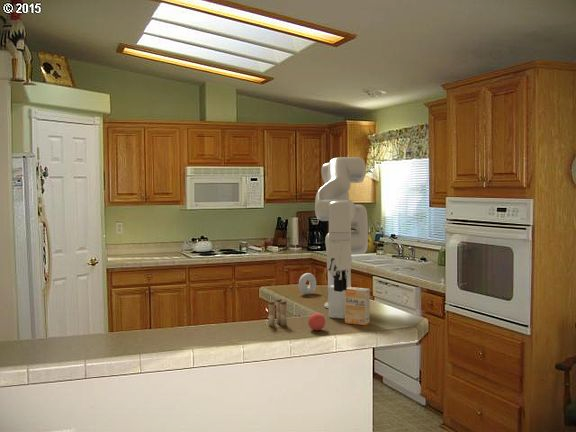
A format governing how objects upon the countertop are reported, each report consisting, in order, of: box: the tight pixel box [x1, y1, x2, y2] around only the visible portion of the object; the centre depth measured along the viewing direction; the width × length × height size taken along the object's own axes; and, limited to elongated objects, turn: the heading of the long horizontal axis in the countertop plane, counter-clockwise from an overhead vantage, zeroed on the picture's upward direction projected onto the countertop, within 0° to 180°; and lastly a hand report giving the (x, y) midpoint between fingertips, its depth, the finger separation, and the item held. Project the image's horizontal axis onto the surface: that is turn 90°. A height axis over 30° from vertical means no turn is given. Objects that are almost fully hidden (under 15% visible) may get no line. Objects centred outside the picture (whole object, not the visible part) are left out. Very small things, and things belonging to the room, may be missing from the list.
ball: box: [307, 312, 326, 331], centre depth 210 cm, size 6×6×6 cm
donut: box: [298, 272, 317, 295], centre depth 275 cm, size 10×4×10 cm, turn 130°
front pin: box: [280, 300, 288, 327], centre depth 218 cm, size 2×2×9 cm
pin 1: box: [268, 300, 276, 327], centre depth 218 cm, size 2×2×9 cm
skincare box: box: [327, 285, 345, 320], centre depth 229 cm, size 6×4×12 cm
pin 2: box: [275, 298, 283, 325], centre depth 222 cm, size 2×2×9 cm
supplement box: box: [344, 286, 371, 326], centre depth 219 cm, size 8×5×13 cm, turn 62°
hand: (340, 290), depth 205 cm, fingers closed
